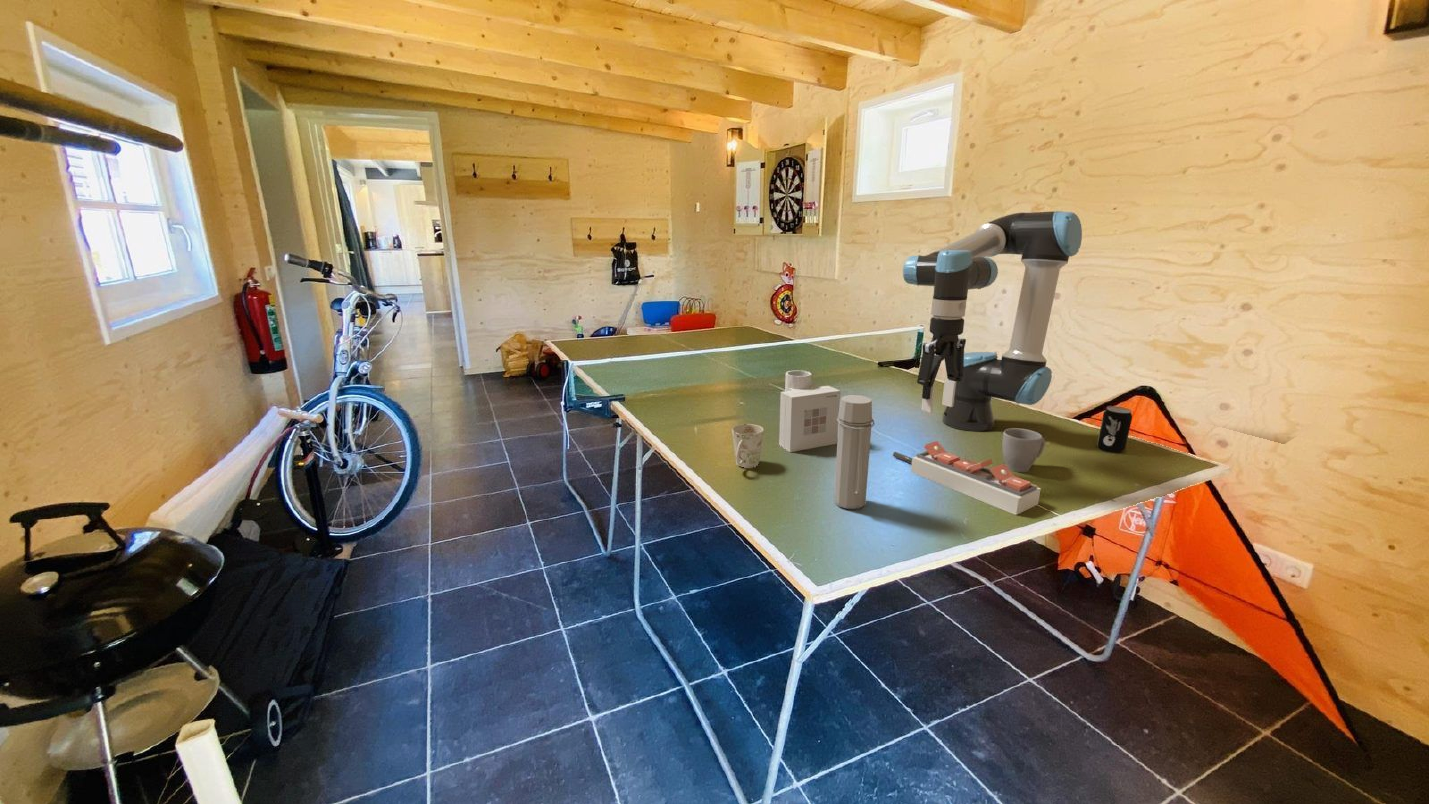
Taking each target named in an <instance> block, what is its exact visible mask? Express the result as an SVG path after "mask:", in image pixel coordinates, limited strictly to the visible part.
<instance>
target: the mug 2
mask: <svg viewBox="0 0 1429 804" xmlns="http://www.w3.org/2000/svg"><path fill="white" fill-rule="evenodd" d="M1045 445H1046V441H1045V438H1044V437H1043V436H1042V434H1040V433H1039V432H1037V431H1034V430H1031V429H1026V428H1017V427H1013V428H1011V427H1010V428H1006V429H1005V430H1004V431H1003V434H1002V442H1001V446H1002V447H1001V449H1002V457H1003V460H1004V464H1005V466H1006V467H1007V468H1008V469H1009V470H1010V471H1011V472H1016V473H1028V472H1029V471H1030V469H1031V467H1032V466H1033V465H1034V463H1035V461H1037V459H1038V458H1040V456H1041V455H1042V454H1043V451H1044V450H1045Z"/></svg>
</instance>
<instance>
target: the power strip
mask: <svg viewBox="0 0 1429 804" xmlns="http://www.w3.org/2000/svg"><path fill="white" fill-rule="evenodd" d="M892 457H894V458H897V459H900V460H901V461H904V462H905V463H909V464H911V466H910V473H912V474H915V475H916V476H919V477H922V478H924V479H927V480H929V481H932V482H934V483H937V484H939V485H941V486H944V487H945V488H948V489H951V490H954V491H956V492H958V493H960V494H963V495H965V496H967V497H968V496H969V497H970V498H973V499H976V500H978V501H981V502H983V503H985V504H987V505H990V506H992V507H995V508H997V509H1000V510H1003V511H1004V512H1006V513H1010V514H1012V515H1014V516H1017V515H1019V514H1022V513H1023V512H1025V511H1027V510H1029V509H1031V508H1034V507H1035V506H1037V505H1039V500H1040V496H1041V494H1040V493H1041V488H1040V487H1038V486H1037V485H1036V484H1032V483H1031V486H1030V487H1029V488H1026V489H1024V490H1022V491H1020V492H1019V491H1017V490H1014V489H1011V488H1009V487H1006V486H1003V485H1001V484H1000V483H998V482H999V481H998V480H997V479H996V477H995V476H994V475H993V474H992V473H991V471H990V469H989V468H987V467H983V468H982V469H980V470H977V471H975V472H972V473H968V472H965V471H963V470H960V469H958V468H955V467H953V463H952V464H950V465H947V464H944V463H942V462H939V461H936V460H934V459H932V458H931V457H932V456H931V455H930V454H929V453H928V451H927V450H926V451H924V452H920V453H917V454H916V456H913V457H910V456H907V455H905V454H902V453H900V452H897V451H894V452H893V454H892ZM959 460H962V459H961V458H959Z"/></svg>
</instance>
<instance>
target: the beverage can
mask: <svg viewBox="0 0 1429 804" xmlns="http://www.w3.org/2000/svg"><path fill="white" fill-rule="evenodd" d="M1132 420H1133V414H1132V409H1129V407H1128V408H1127V407H1123V406H1118V405H1117V406H1116V405H1113V406H1112V405H1109V406H1106V409H1105V410H1104V411H1103V414H1102V419H1101V423H1100V428H1099V434H1098V438H1097V443H1096V445H1097V447H1098V449H1099V450H1101V451H1104V452H1107V453H1110V454H1111V453H1114V454H1119V453H1123V452H1124V451H1125V450H1126V448H1127V442H1128V437H1129V433H1130V429H1131V424H1132Z"/></svg>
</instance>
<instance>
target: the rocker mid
mask: <svg viewBox="0 0 1429 804" xmlns="http://www.w3.org/2000/svg"><path fill="white" fill-rule="evenodd" d="M993 464H994V462H993V460H992V459H988V460H985V461H981V462H975V461H971V460H970V459H968V458H967V459H966V458H963V459H961V460H959V461H956V462H954V463H953V467H955V468H958V469H960V470H963V471H965V472H968V473H972V472H975V471H977V470H980V469H982V468H983V467H984V468H987V467H988V466H991V465H993Z"/></svg>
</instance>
